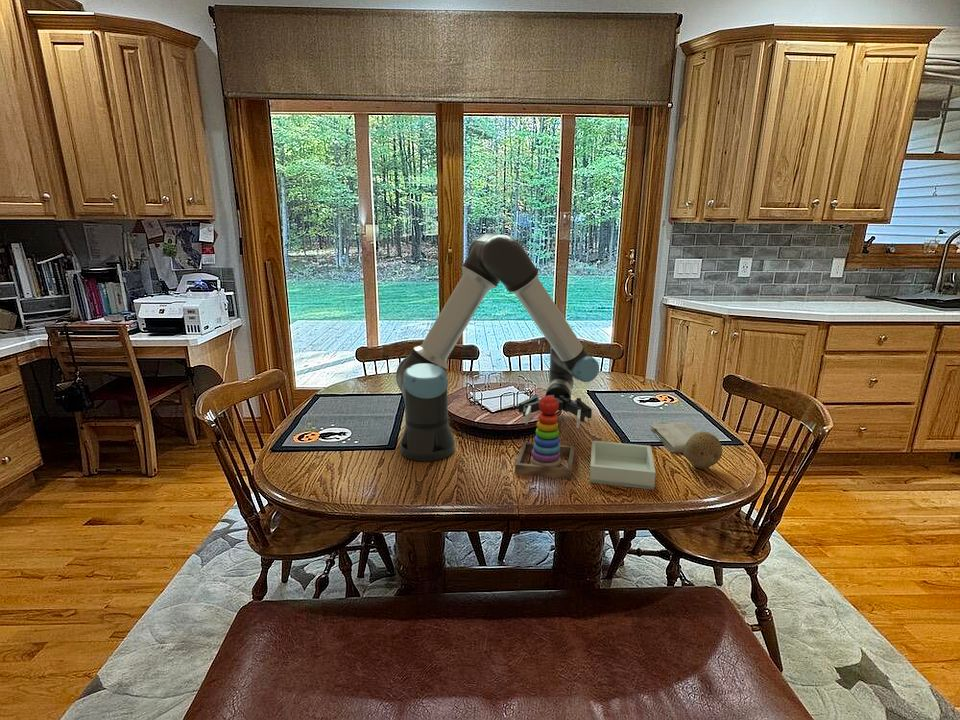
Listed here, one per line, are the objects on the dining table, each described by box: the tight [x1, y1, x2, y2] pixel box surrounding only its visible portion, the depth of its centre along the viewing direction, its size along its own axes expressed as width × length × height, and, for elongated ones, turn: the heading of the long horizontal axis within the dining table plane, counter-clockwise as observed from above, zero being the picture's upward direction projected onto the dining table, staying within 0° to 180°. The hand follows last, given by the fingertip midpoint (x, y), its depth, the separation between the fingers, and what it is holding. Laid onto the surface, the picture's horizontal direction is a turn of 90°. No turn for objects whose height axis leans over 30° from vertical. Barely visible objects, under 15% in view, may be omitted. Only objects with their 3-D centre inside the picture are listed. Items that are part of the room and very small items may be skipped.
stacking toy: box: [530, 396, 562, 467], centre depth 132 cm, size 8×8×19 cm
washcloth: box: [649, 421, 698, 454], centre depth 149 cm, size 12×18×3 cm, turn 3°
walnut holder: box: [514, 441, 576, 480], centre depth 134 cm, size 14×14×2 cm
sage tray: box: [589, 440, 656, 491], centre depth 129 cm, size 15×15×4 cm
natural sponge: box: [683, 431, 723, 470], centre depth 130 cm, size 9×9×10 cm
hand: (552, 421), depth 135 cm, fingers open, 13 cm apart
